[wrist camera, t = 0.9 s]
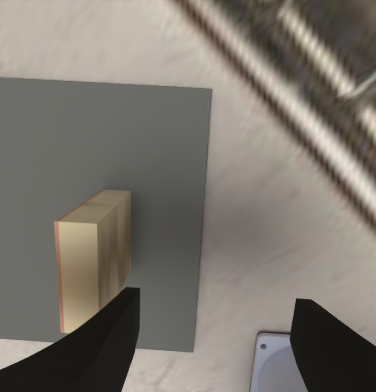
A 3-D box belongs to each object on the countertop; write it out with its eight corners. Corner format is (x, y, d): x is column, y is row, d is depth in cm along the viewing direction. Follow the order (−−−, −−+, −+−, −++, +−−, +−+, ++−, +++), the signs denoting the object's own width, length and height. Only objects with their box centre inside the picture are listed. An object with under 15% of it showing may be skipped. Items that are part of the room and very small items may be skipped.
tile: (130, 269, 21) (99, 335, 15) (104, 267, 21) (60, 332, 15) (131, 190, 20) (96, 224, 13) (103, 189, 20) (54, 221, 13)
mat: (193, 346, 23) (193, 352, 23) (2, 333, 24) (-3, 338, 23) (211, 90, 19) (211, 88, 18) (-28, 77, 19) (-35, 75, 18)
